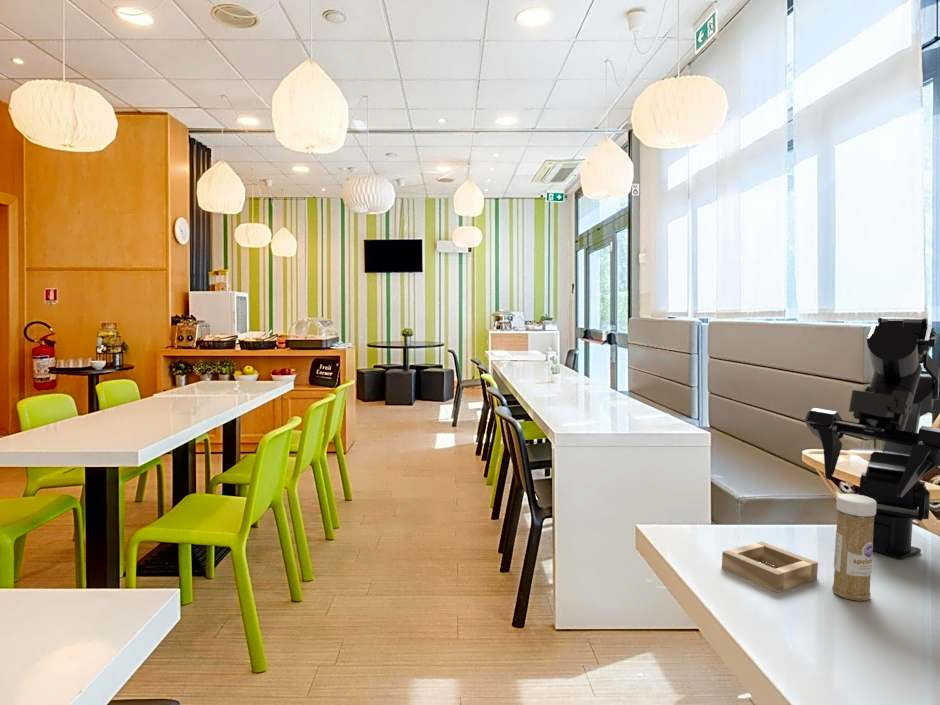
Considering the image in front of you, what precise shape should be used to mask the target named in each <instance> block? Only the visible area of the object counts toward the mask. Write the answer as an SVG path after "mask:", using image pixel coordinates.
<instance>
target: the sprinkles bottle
mask: <svg viewBox="0 0 940 705" xmlns="http://www.w3.org/2000/svg"><path fill="white" fill-rule="evenodd" d="M876 505H877V503H876V501H875V500H874V499H872V498H870V497H867V496H863V495H860V494H857V493H840V494H837V497H836V512H837V516H836V517H837V518H836V530H835V541H834V542H835V543H834V558H833V560H834V561H833V570H834V571H833V572H834V574H833V585H832V587H831V588H832V591H833V592H834V593H835V594H836V595H837V596H839V597H841V598H844V599H845V600H852V601H859V602H860V601H863V602H865V601H869V600H870V598H871V597H872V596H871V580H872V578H871V576H872V573H873V572H872V571H873V570H872V569H873V557H874V556H873V555H874V554H873V553H874V552H873V551H874V550H873V529H874V517H875V516H874V515H876Z"/></svg>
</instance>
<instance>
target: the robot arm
mask: <svg viewBox="0 0 940 705" xmlns="http://www.w3.org/2000/svg"><path fill="white" fill-rule="evenodd" d="M928 322H929V321H928V318H927V317H911V316H910V317H907V316H906V317H902V316H898V317H897V316H896V317H895V316H879V318H878V319H877V323H872V325H871V328H870V330H869V333H868V336H867V338H866V343H867V348H868V352H869V356H870V360H871V366H872V369H873V375H872V377H871V381H870V384H869V386H866V388H865V389H864V390H857V389H852V391H851V395H850V396H851V397H850V401H849V406H848V412H849V413H852V412H853V414H852V416H853V418H854V419H856V420H858V422H855V421H849V420H843V418H842V416H840V415H841V414H840V413H839V412H838V411H836V410H829V409H824V408H817V407H813V408H811V409H810V410H809V411H808V412H807V413H806V416H805V419H804V422H803V423H805V425H806V426H807V428H808V429H809V430H810V432H811V433H812V434H813V436H815V437H816V438H818V440H819V441H820V443H821V444H822V449H823V460H824V461H823V462H824V474H825V476H824V477H825V479H826V480H828V481H831V480H832V477H833V475H834V473H835V470H836V466H837V464H838V460H839V456H840V455H841V451H842V447H843V443H842V441H841V439H842V438H844V435H851V436H857V437H862V438H867V439H871V440H877V441H883V442H884V445H883V449H882V450H883V451H882V452H881V451H876V450H875V451H873V452H872V453H870V458H869V461H868V463H867V464H868V465H867V467H866V470H865V472H864V471H863V472H861V474H860V478H859V479H860V480H859V495H863V496H867V497H870V498H872V499H874V500H875V501H876V503H877V505H876V515H874V516H875V517H874V529H873V551H874V552H877V553H880V554H883V555H886V556H889V557H892V558H895V559H898V560H900V559H902V560H903V559H905V558H907V557H911V556H914V555H918V554H920V553H922V549H921V548H920V547H916V546H913V545H912V538H913V523H914V522H913V520H917V521H919V522H923V520H929V519H930V501H931V500H930V498H931V497H930V494H931V493H930V491H929V490H928V489H927V486H926V482H925V481H921V478H922V477H924V476H926V474H928V473H929V472H930V471H932V470H933V469H934V468H936V467H938V468H940V428H938V427H932V426H927V425H926V426H925V425H921V426H920V427H919V425H920V419H921V417H922V416H924V415H926V414H928V413H931V412H932V410H933V406H934V401H938V400H939V396H940V395H939V394H940V366H939V365H938V364H937V363H936V362H935V360H934V359H933V358H932V357H931V356H930V354H929V352H930V350H931V348H934V347H935V346H936V342H937V340H938V339H937V338H938V333H937V331H935V327H934V326H933V324H929V323H928ZM921 364H922V366H921ZM923 369H924V370H925V371H926V372H927V373H922V371H923Z"/></svg>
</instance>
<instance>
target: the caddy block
mask: <svg viewBox="0 0 940 705" xmlns="http://www.w3.org/2000/svg"><path fill="white" fill-rule="evenodd" d="M721 554H722V555H721V569H723V568H724V569H723V570H725V569H726V570H725V571H727V570H728V572H730V573H732V574H734V573H735V574H734V575H736V574H737V576H739V577H741V578H743V577H744V578H743V579H745V578H746V579H745V580H748V581H749V582H753V583H754V584H757V585H760V586H761V587H764V588H766V589H768V590H771V591H773V592H774V593H779V592H782V591H786V590H788V589H792V588H795V587H797V586H798V587H799V586H801V585H805V584H808V583H810V582H813V581H816V580H818V571H819V562H818V561H815V560H813V559H810V558H807V557H804V556H802V555H799V554H797V553H794V552H792V551H789V550H785V549H783V548H781V547H778V546H775V545H772V544H770V543H768V542H765V541H759V542H755V543H750V544H746V545H742V546H739V547H735V548H732V549H727V550H725V551H722V553H721ZM762 561H764V562H762ZM759 562H762V563H759ZM765 562H767V563H769V564H768V565H766V564H767V563H766V564H765ZM770 564H771V565H770ZM772 565H774V566H776V567H775V568H773V567H774V566H772ZM771 566H772V567H771ZM777 567H778V568H777Z"/></svg>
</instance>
